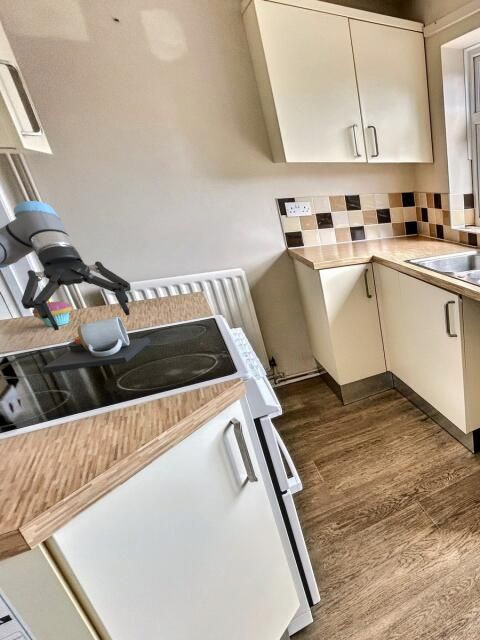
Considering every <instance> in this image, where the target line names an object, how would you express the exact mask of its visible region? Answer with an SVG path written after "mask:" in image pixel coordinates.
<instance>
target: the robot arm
mask: <svg viewBox="0 0 480 640" xmlns="http://www.w3.org/2000/svg"><path fill="white" fill-rule="evenodd" d="M13 214H14V215H13V217H15V219H13V220H11V221H10V222H8V223H7V224H6V225H3V226H2V227H0V269H4V268H8V267H9V266H11V265H13V264H17V263H19V261H20V260H22V259H23V258H24V257H26V256H28V255H30V254H31V253H33V252H34V253H35V255H36V257H37V259H38V260H39V262H40V264H41V266H42V268H43V271H35V270H33V269H29V270H27V276H28V280H27V283H26V286H25V288H24V291H23V295H22V297H21V300H20V302H21V304H22V307H23V308H24V309H26V310H29V309H34V308H35V309H36V310H37V311H38V313H39V315H40V317H41V318H42V319H46V318H48V319H49V320H50V322H51V324H52V326H53V327H52V328H53V330H54V331H59V330H60V328H59V326H58V325H57V323H56V321H55V319H54V317H53V315H52V313H51V312H50V310H49V308H48V306H47V304H46V303H47V302H48V300H49V299H50V300H51V297H53V295H54V294H55V293H56V291H57V290H59V289H60V288H61V286H66V287H67V286H73V285H80V284H83V282H84V283H86V284H88V285H94V286H96V287H99V288H102V289H104V290H107V291H110V292H112V293H114V296H115V298H116V301H117V302H118V303H119V306H120V308H121V309H122V311H123V313H124V314H125V316H130V315H131V314H130V308H129V307H128V305H127V304H129V297H128V295H127V293H126V292H130V291H131V290H132V288H131V283H130V282H129V281H127V280H125V279H124V278H122V277H121V276H119V275H117V274H116V273H114V272H113V271H111V270H109V269H108V268H106V266H104V265H103V264H102V262H101V261H95V262H94V264H89V265H88V264H86V263H85V262H84V261H83V259H82V257H81V255H80V253H79V251H78V250H77V248H76V246H75V244H74V242H73V240H72V238H71V237H70V235H69V234H68V233H67V230H66V228H65V226H64V224H63V222H62V220H61V217H60V216H59V215H58V214H57V212H56V211H55V210H54V208H53V207H52V206H51V205H50V204H48V203H45V202H42V201H38V200H27V201H21V202H19V203H17V204H16V205H15V207H14V209H13ZM91 271H93V272H95V274H100V276H102V277H103V278H102V277H100V276H97V275H95V274H93V273H92V272H91ZM43 278H45V279H48V281H47V283H46V285H45V286H44V288H43V287H42V288H43V289H41V291H40V292H39V293H38V295H37V296H36V293H37V290H38V288H39V282H41V281H42V280H43ZM35 296H36V297H35Z"/></svg>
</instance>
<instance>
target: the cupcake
mask: <svg viewBox="0 0 480 640" xmlns="http://www.w3.org/2000/svg"><path fill="white" fill-rule="evenodd" d="M44 287H45V286H44V285H42V288H41V290H43V288H44ZM46 304H47V306H48V308H49V310H50V312H51V313H52V315H53V317H54V319H55V321H56V323H57V325H58V327H60V326H64V325H67V324H69V323H70V312H72V311H73V310H74V308H73V306H72V305H71V304H70V303H68V302H65V301H58V300H57V301H52V300H51V298H50V299H49V300H48V301H47V303H46ZM32 309H33V310H32V312H31V313H32V314H33V317H34V318H37V319H39V320H41V321H42V322H43V323H44V324H45V325H46V326H47V327H52V328H53V326H52V324H51V322H50V320H49V319H48V318H46V319H42V318H41V317H40V315H39V313H38V311H37V310H36V309H35V308H32Z"/></svg>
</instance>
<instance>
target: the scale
mask: <svg viewBox="0 0 480 640" xmlns="http://www.w3.org/2000/svg"><path fill="white" fill-rule="evenodd" d="M151 342H152V341H151V338H150V337H141V338H132V339H129V345H128V346H122V347H121V348H120V350H119V351H118V352H116V353H114V354H112V355H110V356H104V357H99V356H94V355H93V354H92V353H91V352H90V351H88V350H86V349H85V348H84V346H83V345H82V344H76V342H75V340H73V341H70V342H69V343H68V344H67V346H68V348H69V350H67V351H66V352H65V353H63V354H61V355H60V356H58V357H56V358H55V359H54V360H52V361H51V362H49V363H47V364H45V366H43V367H42V369H43V371H44V373H45V374H46V373H53V372H62V371H67V370H68V371H69V370H77V369H84V368H93V367H99V366H109V365H116V364H122V363H128V362H129V361H130V360H131V359H133V358H134V357H135V356H136V355H138V353H140V352H141V351H142V350H144V348H146V347H147V346H148V345H149V344H150V343H151ZM111 349H112V348H111ZM108 350H110V349H105V350H100V351H95V352H104V351H108Z"/></svg>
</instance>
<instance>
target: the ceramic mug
mask: <svg viewBox="0 0 480 640" xmlns="http://www.w3.org/2000/svg"><path fill="white" fill-rule="evenodd" d="M77 335H78V337H79V338H80V341H81V343H82V345H83V346H84V348H85V349H86V350H88V351H90V352H91V353H92V354H93V355H94V356H99V357H104V356H110V355H112V354H114V353H116V352H118V351H119V350H120V348H121V347H122V346H128V345H129V340H130V339H129V335H128V331H127V330H126V327H125V325H124V322H123V321H122V319H121V318H120V317H119V316H114V317H109V318H105V319H104V318H103V319H100V320H95V321H90V322H86V323H83V324H81V325H79V326H78V327H77ZM111 348H112V349H111ZM105 349H110V350H108V351H104V352H95V351H100V350H105Z"/></svg>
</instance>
